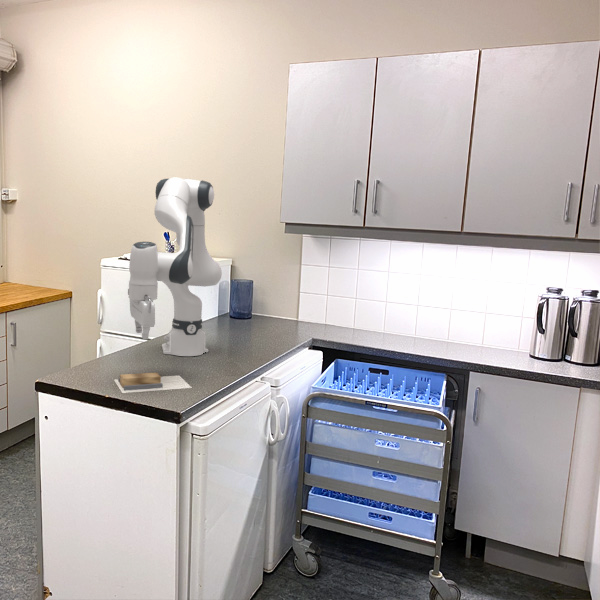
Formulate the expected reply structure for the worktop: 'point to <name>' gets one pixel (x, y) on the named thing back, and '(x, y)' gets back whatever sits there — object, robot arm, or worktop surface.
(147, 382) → the brown wooden block
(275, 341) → the worktop surface
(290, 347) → the worktop surface
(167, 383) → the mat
